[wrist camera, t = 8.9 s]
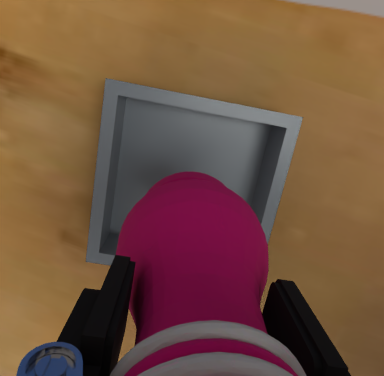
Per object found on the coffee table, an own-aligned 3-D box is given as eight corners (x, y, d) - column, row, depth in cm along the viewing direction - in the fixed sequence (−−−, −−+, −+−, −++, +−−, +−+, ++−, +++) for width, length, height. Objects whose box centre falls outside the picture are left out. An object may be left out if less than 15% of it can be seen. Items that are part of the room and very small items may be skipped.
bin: (282, 114, 28) (302, 117, 24) (244, 259, 32) (255, 286, 27) (118, 82, 27) (105, 78, 22) (100, 236, 31) (85, 261, 26)
